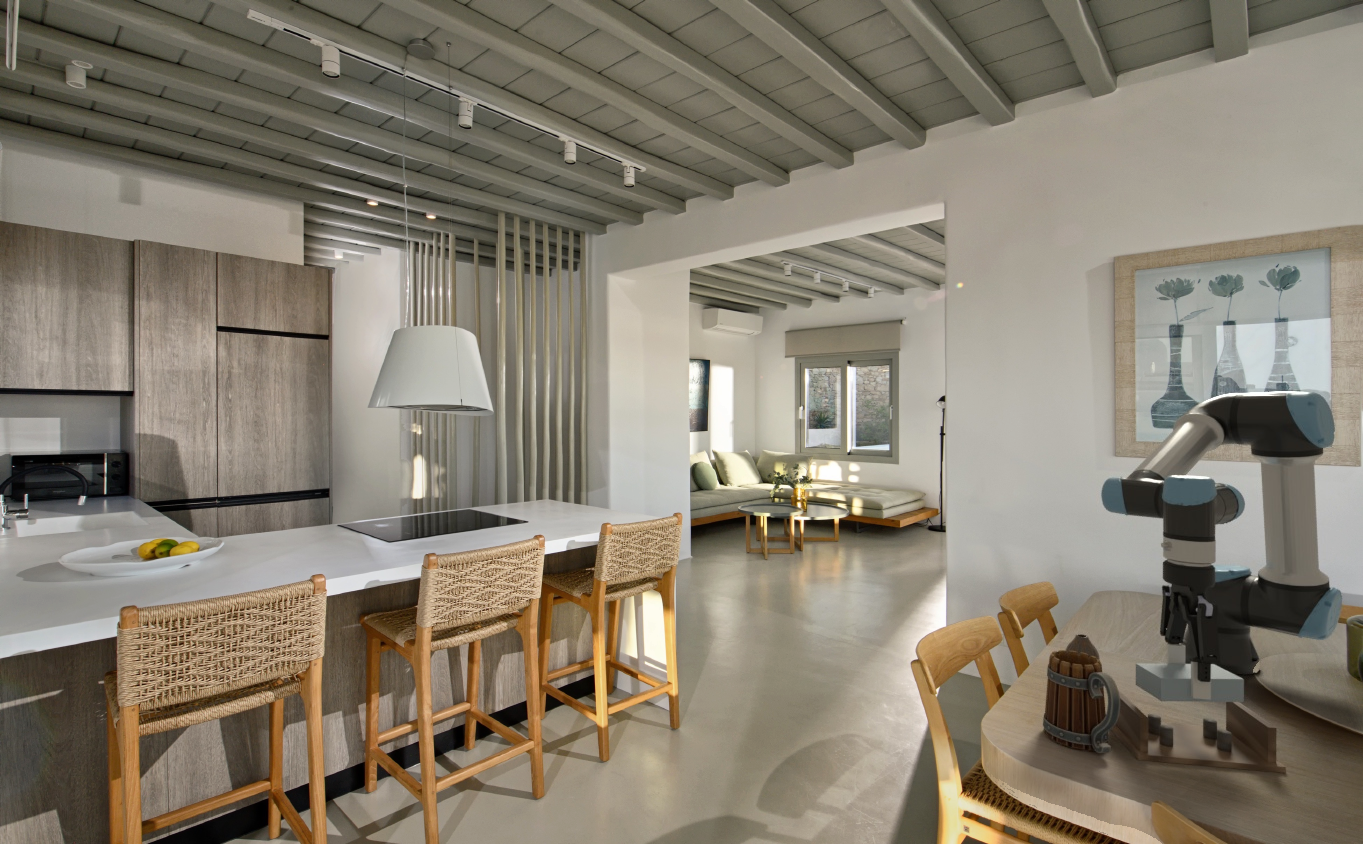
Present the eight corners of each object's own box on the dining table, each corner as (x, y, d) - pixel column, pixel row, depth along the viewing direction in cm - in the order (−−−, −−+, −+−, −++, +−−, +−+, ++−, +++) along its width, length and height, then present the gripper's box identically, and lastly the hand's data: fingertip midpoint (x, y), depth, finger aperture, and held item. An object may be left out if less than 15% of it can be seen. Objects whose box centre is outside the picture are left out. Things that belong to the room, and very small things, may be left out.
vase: (1105, 680, 150) (1104, 641, 149) (1071, 678, 151) (1071, 639, 151) (1092, 668, 156) (1092, 631, 156) (1060, 667, 158) (1060, 630, 158)
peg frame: (1235, 733, 125) (1235, 696, 125) (1285, 773, 111) (1286, 731, 111) (1104, 722, 129) (1104, 687, 129) (1137, 759, 116) (1137, 719, 115)
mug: (1030, 726, 128) (1030, 648, 128) (1082, 723, 129) (1082, 646, 129) (1086, 769, 113) (1086, 681, 112) (1145, 766, 114) (1145, 678, 113)
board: (1213, 685, 123) (1213, 664, 123) (1243, 702, 116) (1243, 679, 116) (1135, 684, 124) (1135, 663, 124) (1161, 701, 117) (1161, 678, 117)
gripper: (1138, 549, 130) (1138, 666, 131) (1195, 574, 110) (1195, 711, 111) (1182, 551, 129) (1181, 669, 129) (1248, 576, 109) (1247, 715, 109)
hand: (1187, 688), depth 120 cm, fingers closed on board, 8 cm apart
